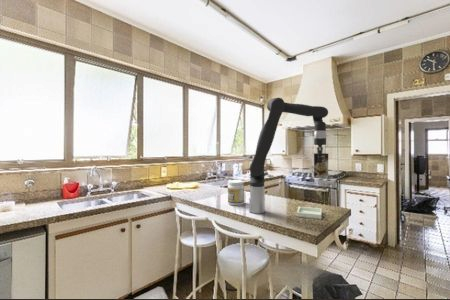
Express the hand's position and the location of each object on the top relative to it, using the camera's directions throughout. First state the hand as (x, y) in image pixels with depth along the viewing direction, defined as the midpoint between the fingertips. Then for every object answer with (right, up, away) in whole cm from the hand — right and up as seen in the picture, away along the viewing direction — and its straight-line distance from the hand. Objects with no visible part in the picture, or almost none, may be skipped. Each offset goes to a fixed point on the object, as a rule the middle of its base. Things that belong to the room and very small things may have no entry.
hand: (319, 162), depth 157 cm
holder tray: (-10, -32, -9) cm, 35 cm away
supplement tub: (-55, -32, +19) cm, 66 cm away
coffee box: (0, -10, 0) cm, 10 cm away
